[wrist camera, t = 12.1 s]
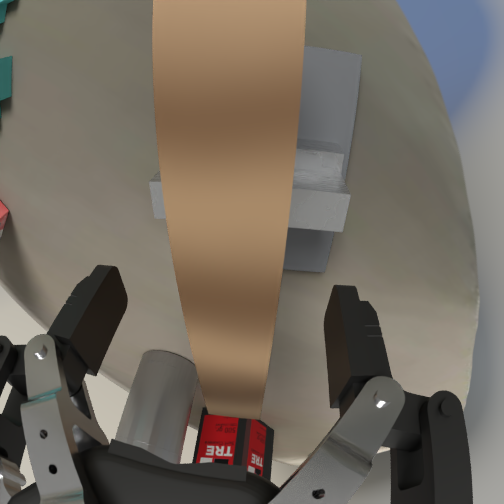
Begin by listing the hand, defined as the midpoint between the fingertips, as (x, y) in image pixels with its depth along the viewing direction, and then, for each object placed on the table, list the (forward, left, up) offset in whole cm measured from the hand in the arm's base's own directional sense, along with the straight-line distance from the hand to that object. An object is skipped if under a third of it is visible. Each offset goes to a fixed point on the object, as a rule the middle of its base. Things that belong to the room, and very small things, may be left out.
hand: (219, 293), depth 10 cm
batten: (0, 0, -7) cm, 7 cm away
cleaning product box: (-54, +1, -14) cm, 56 cm away
